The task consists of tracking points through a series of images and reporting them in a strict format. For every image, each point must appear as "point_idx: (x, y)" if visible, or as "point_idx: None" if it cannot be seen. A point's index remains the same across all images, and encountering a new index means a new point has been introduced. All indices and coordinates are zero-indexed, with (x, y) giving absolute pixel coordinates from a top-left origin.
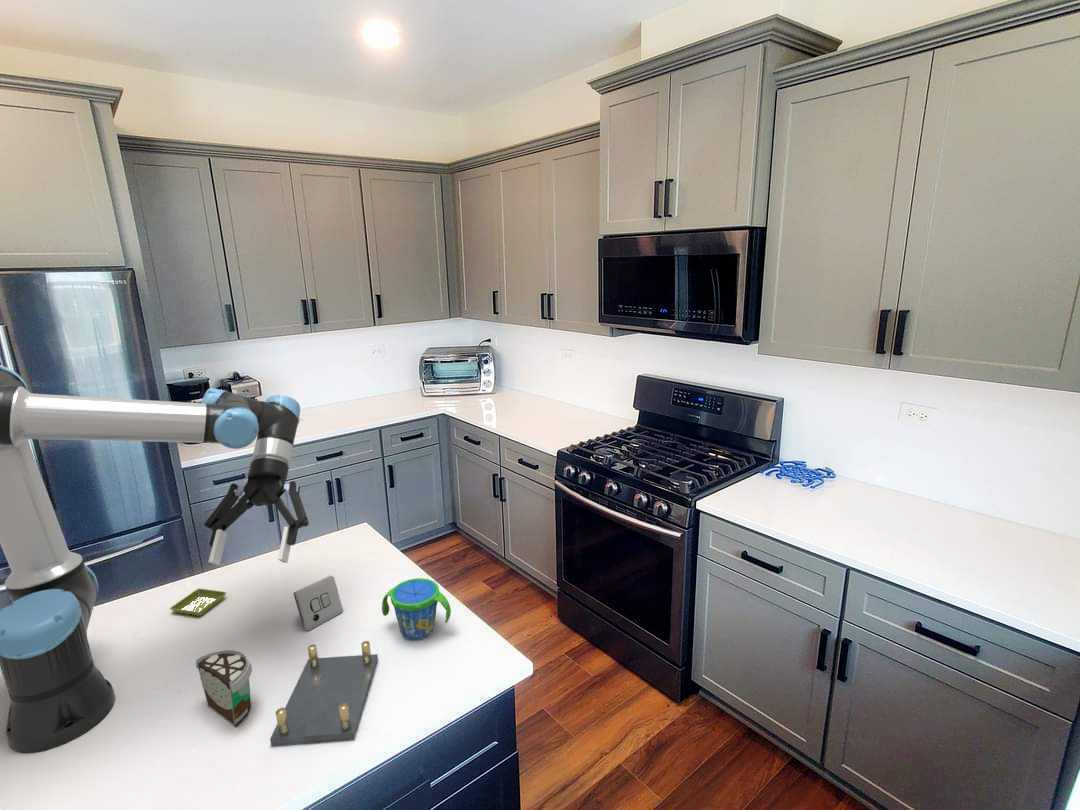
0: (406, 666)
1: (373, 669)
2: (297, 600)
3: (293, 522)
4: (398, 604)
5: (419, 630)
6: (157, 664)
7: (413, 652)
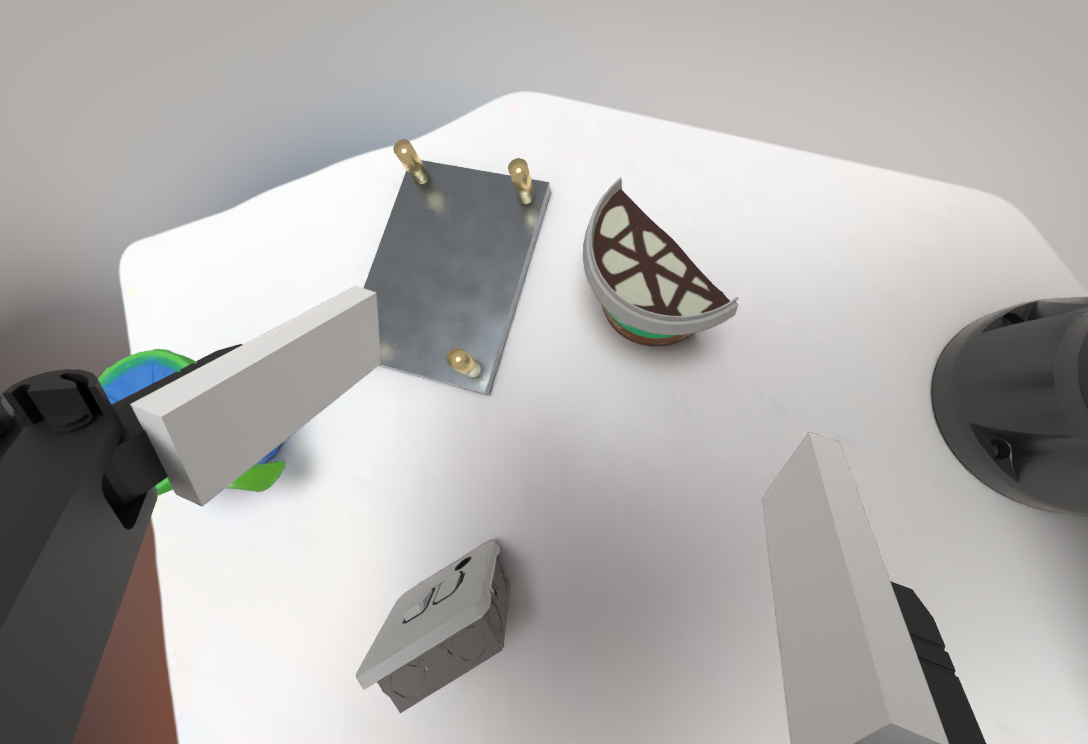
0: None
1: None
2: (489, 592)
3: (29, 385)
4: None
5: None
6: (886, 551)
7: None
